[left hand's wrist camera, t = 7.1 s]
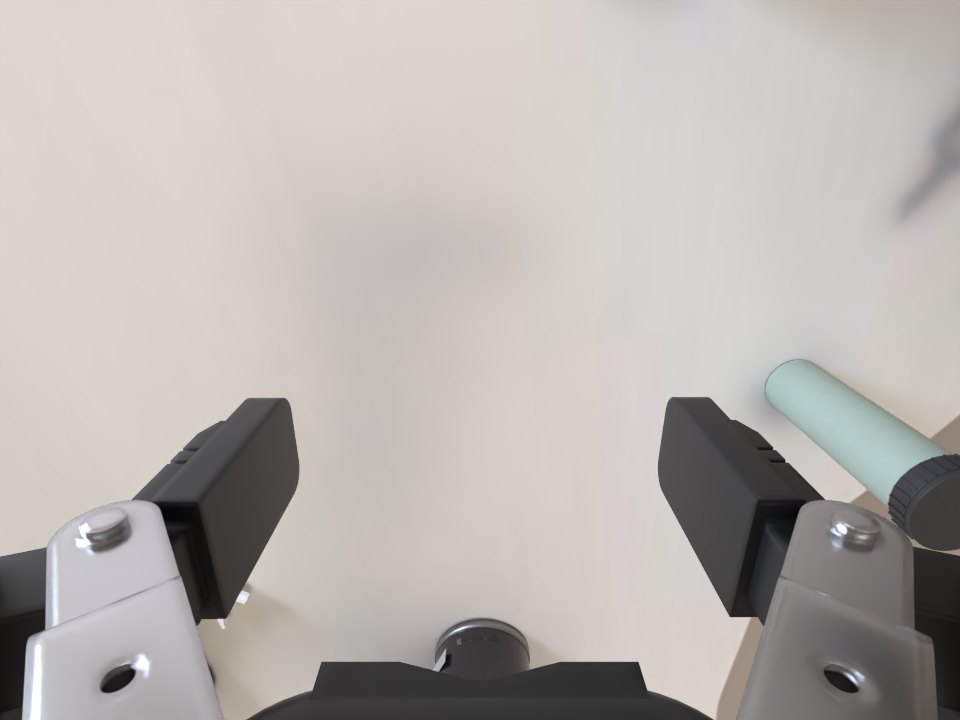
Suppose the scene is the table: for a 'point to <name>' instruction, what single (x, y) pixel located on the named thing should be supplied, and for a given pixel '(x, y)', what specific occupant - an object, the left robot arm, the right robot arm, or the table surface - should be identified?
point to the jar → (849, 426)
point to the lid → (929, 503)
